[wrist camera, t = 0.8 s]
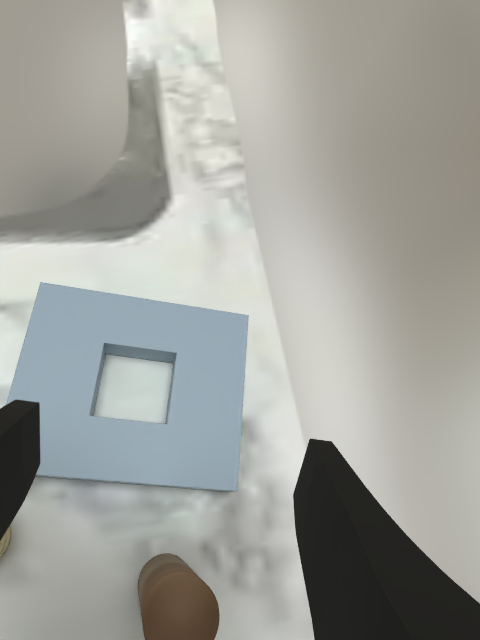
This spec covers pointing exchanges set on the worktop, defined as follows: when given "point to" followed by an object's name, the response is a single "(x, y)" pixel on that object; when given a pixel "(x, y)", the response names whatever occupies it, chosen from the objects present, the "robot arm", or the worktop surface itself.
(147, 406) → the worktop surface
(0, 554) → the brass pin
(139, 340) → the hole plate
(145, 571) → the walnut pin
